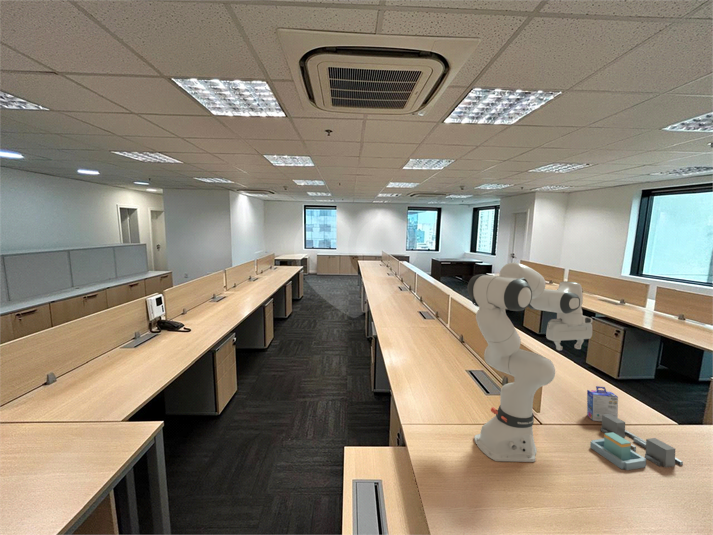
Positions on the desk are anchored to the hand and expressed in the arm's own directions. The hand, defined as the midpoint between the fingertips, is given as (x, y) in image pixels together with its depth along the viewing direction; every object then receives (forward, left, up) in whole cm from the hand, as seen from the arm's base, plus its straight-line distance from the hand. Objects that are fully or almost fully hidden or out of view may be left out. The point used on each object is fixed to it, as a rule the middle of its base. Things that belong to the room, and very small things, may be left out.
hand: (568, 349), depth 122 cm
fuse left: (+14, -8, -34) cm, 38 cm away
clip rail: (+14, -16, -34) cm, 40 cm away
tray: (+1, -20, -34) cm, 39 cm away
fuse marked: (+1, -20, -34) cm, 39 cm away
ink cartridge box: (+20, +1, -34) cm, 40 cm away
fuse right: (+14, -24, -34) cm, 44 cm away
